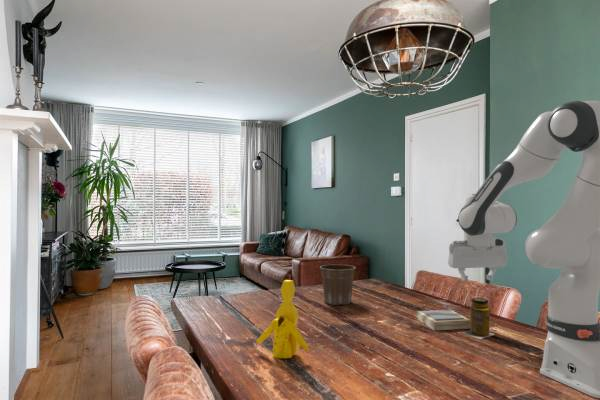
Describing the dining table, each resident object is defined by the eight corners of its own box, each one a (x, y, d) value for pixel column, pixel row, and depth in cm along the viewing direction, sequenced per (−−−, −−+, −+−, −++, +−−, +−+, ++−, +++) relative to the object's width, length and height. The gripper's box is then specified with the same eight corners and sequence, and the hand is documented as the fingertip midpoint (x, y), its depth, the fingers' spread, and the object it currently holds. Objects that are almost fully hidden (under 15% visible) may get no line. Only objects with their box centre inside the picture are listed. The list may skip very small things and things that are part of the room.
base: (470, 328, 144) (470, 318, 144) (434, 330, 142) (434, 320, 142) (450, 317, 158) (450, 308, 158) (416, 318, 156) (416, 310, 156)
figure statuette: (252, 354, 120) (252, 281, 120) (266, 346, 127) (266, 276, 127) (306, 365, 112) (306, 286, 112) (317, 355, 119) (317, 281, 119)
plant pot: (328, 296, 193) (327, 263, 193) (360, 300, 186) (360, 265, 186) (314, 304, 178) (314, 268, 178) (348, 308, 171) (348, 270, 171)
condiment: (494, 334, 137) (494, 300, 137) (480, 339, 133) (480, 303, 133) (475, 329, 143) (475, 295, 143) (461, 333, 139) (460, 299, 139)
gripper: (454, 242, 133) (454, 283, 134) (510, 241, 137) (509, 281, 137) (444, 239, 140) (444, 279, 140) (498, 238, 143) (497, 277, 143)
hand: (477, 280), depth 138 cm, fingers open, 8 cm apart
